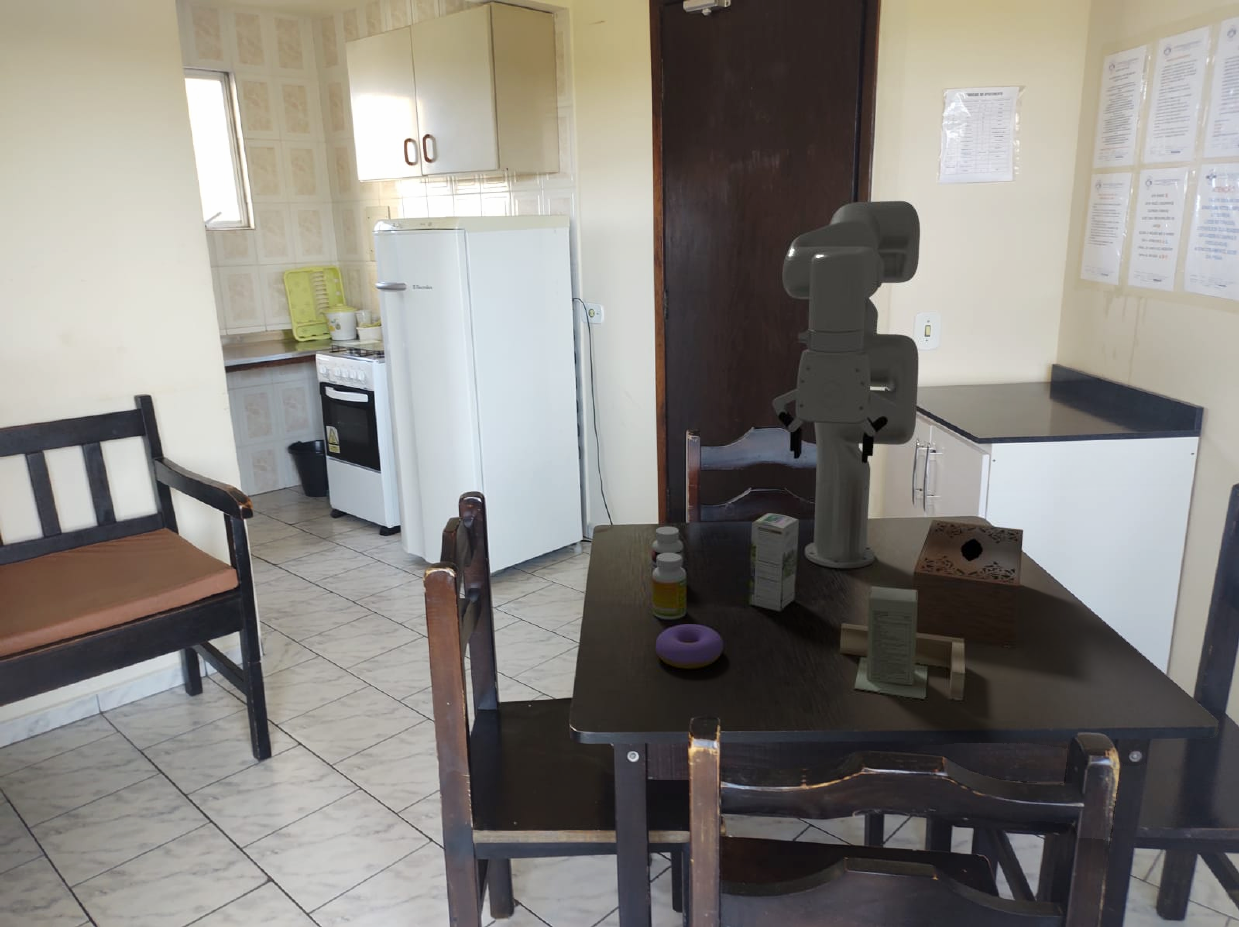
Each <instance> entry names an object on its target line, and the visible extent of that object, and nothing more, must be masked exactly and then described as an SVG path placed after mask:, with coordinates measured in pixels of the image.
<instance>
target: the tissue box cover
mask: <svg viewBox="0 0 1239 927" xmlns="http://www.w3.org/2000/svg"><path fill="white" fill-rule="evenodd" d="M1023 540H1024V530H1023V529H1021V528H1020V529H1018V528H1010V527H1002V526H1001V527H1000V526H992V525H991V526H990V525H983V524H973V523H966V522H956V521H947V520H939V519H938V520H937V519H932V521H931V523H930V526H929V529H928V532H927V534H926V537H925V540H924V543H923V545H922V547H921V548H922V549H921V551H920V554H919V556H918V559H917V562H916V564H915V567H914V570H913V576H912V578H913V579H912V587H911V588H912V589H911V590H917V592H918V600H917V626H916V632H917V633H923V634H930V635H938V636H946V637H954V638H961V639H964V642H965V641H967V642H973V643H977V642H979V644H983V643H984V644H985V645H991V646H996V645H997V646H996V647H1002V646H1007V647H1006V648H1008V646H1009V647H1013V648H1014V642H1015V633H1016V632H1015V631H1016V624H1017V623H1016V622H1017V613H1018V605H1019V594H1020V582H1021V581H1020V580H1021V568H1022V555H1023V554H1022V553H1023Z"/></svg>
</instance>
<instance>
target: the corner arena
mask: <svg viewBox="0 0 1239 927" xmlns="http://www.w3.org/2000/svg"><path fill="white" fill-rule="evenodd" d="M840 629H841V630H840V645H839V649H840V650H839V653H840V654H846V655H854V656H860V659H859V663H858V667H857V668H858V669H857V675H856V679H855V684H854V688H853V690H854V689H859V690H858V691H860V690H870V691H872V690H873V691H878V690H885V691H879V692H883V693H890V694H899V695H902V694H903V696H905V694H907V695H906V696H910V697H920V698H922V697H923V698H924V697H927V681H928V680H927V678H928V666H931V665H935V666H934V667H938V666H943V667H942V668H945V667H950V668H949V677H950V678H949V682H950V683H949V685H950V686H949V687H950V688H949V698H950V697H951V698H958V699H961V700H963V699H964V688H965V676H966V667H965V666H966V664H965V662H966V659H965V640H964V639H961V638H954V637H946V636H938V635H930V634H923V633H916V649H915V670H914V684H913V685H907V684H898V683H889V682H881V681H873V680H867V641H868V625H867V626H866V625H858V624H853V623H852V624H851V623H844V622H843V623H841V628H840ZM916 663H922V664H916ZM924 664H926V665H924ZM927 664H928V665H927ZM879 687H881V688H879ZM882 687H883V688H882ZM885 687H886V688H885ZM898 687H899V688H898ZM901 687H902V688H901ZM886 690H887V691H886ZM892 690H893V691H892ZM898 690H900V691H898ZM901 690H903V692H902V691H901ZM904 690H906V691H904ZM907 690H908V691H907ZM908 694H909V695H908Z"/></svg>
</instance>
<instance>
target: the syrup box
mask: <svg viewBox="0 0 1239 927" xmlns="http://www.w3.org/2000/svg"><path fill="white" fill-rule="evenodd" d="M799 521H800V520H799V519H798V518H794V517H791V516H788V515H784V514H779V513H772V512H770V513H766V514H764V515H763V516H762V517H760V518H758V519H757V520H755V521H753V522H751V538H750V539H751V540H750V544H751V545H750V567H749V568H750V570H749V595H748V596H749V598H748V602H749V603H748V604H749V605H752V606H756V607H760V608H765V609H766V610H767V609H768V610H771V611H772V610H773V611H777V612H781V611H783V610H784V609H785V608H786V607H788V606H789V605H790V604H791V603H793V602H794V601H795V600H796V582H797V564H798V563H797V562H798V545H799V544H798V543H799V523H800V522H799Z"/></svg>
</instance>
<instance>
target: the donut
mask: <svg viewBox="0 0 1239 927" xmlns="http://www.w3.org/2000/svg"><path fill="white" fill-rule="evenodd" d="M655 641H656V642H655V652H656V654H657V655H658V657H659V659H660V660H662V662H664V663H665V664H666V665H669V666H672V667H674V668H679V669H686V670H691V669H701V668H703V667H704V668H705V667H708V666H709V665H711V664H713V663H715V661H717V660H718V659H719V658H720V656H721V655H722V652H723V649H724V642H723V640H722V636H721V635H720V634H719V633H718V632H717V631H715V630H714V629H713V628H711V627H708V626H705V625H702V624H695V623H693V624H692V623H690V624H689V623H687V624H679V625H678V624H677V625H675V626H674V625H673V626H672V627H668V628H666V629H665V630H663V631H662V632H661V633H660V634H659V635H658V636H657V638H656V640H655Z"/></svg>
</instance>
